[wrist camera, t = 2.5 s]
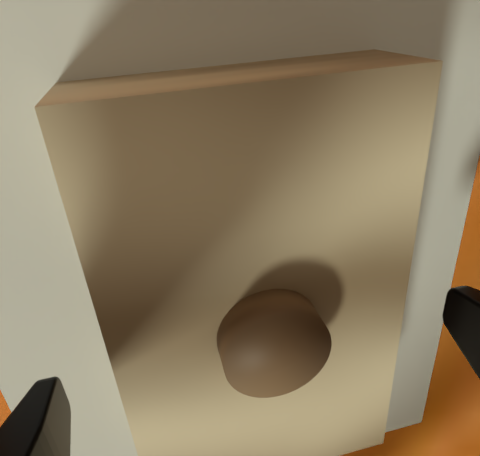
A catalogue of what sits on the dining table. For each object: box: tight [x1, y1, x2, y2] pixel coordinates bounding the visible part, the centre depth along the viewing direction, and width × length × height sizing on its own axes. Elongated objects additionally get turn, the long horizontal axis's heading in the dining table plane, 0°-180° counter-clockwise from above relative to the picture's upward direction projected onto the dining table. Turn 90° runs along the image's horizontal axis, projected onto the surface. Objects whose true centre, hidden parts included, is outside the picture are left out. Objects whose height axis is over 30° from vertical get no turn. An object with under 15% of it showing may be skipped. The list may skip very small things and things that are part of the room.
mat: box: [0, 0, 480, 456], centre depth 12 cm, size 18×14×1 cm
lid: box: [34, 49, 443, 456], centre depth 10 cm, size 11×7×3 cm, turn 4°
